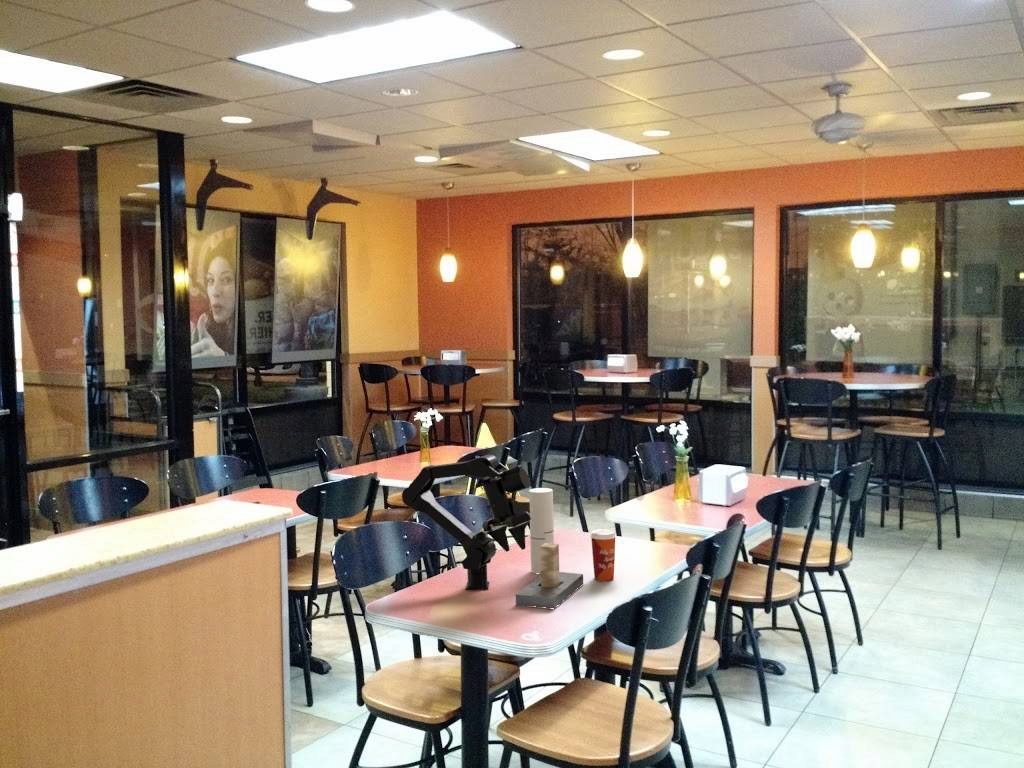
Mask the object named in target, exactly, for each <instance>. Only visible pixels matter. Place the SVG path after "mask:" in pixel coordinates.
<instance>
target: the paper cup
mask: <svg viewBox="0 0 1024 768" xmlns="http://www.w3.org/2000/svg"><path fill="white" fill-rule="evenodd" d="M589 537H590V538H591V548H592V549H591V552H592V560H593V562H592V564H593V565H592V566H593V574H594V580H595V579H596V580H595V581H597V580H599V581H598V582H610V581H609V580H611V581H614V579H615V561H616V560H615V557H616V556H615V555H616V538H617V534H616V532H615V530H612V529H605V528H603V529H602V528H601V529H599V528H598V529H594V530H592V531H591V534H590V536H589Z"/></svg>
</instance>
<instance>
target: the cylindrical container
mask: <svg viewBox="0 0 1024 768" xmlns="http://www.w3.org/2000/svg"><path fill="white" fill-rule="evenodd" d="M528 493H529V494H528V495H529V496H528V498H529V501H528V502H530V513H529V514H530V517H531V520H529V532H530V534H529V535H530V537H529V538H530V539H529V540H530V541H529V542H530V543H529V544H530V572H531V571H532V572H533V573H532V572H531V573H532V574H534V573H539V574H538V575H540V574H541V559H540V546H542V545H543V544H545V543H551V544H555V535H554V534H555V531H554V523H555V522H554V496H553V495H554V494H553V493H554V491H553V489H552V488H548V487H535V488H531V489H529V491H528Z"/></svg>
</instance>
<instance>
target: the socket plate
mask: <svg viewBox="0 0 1024 768" xmlns="http://www.w3.org/2000/svg"><path fill="white" fill-rule="evenodd" d="M559 581H560V586H559V587H557V588H552V587H542V586H541V575H540V576H538V577H537V578H536V579H534V580H533V581H532V582H530V583H529V584H527V585H526V586H525V587H524V588H522V589H521V590H520V591H517V593H515V606H517V605H522V606H521V607H526V606H536V607H546V608H555V607H556V606H557V605H559V604H560V603H561V602H562V601H563V600H564V599H566V598H567V597H568V596H569V595H570V594H571V595H573V594H574V593H575V592H576V591H577V590H578V589H580V588H581V587H582V586H583V585H584V574H583V573H577V572H576V573H574V572H564V571H559ZM582 584H583V585H582ZM581 585H582V586H581ZM580 586H581V587H580ZM579 587H580V588H579ZM577 588H578V589H577ZM576 589H577V590H576ZM575 590H576V591H575ZM574 591H575V592H574ZM573 592H574V593H573ZM572 593H573V594H572ZM571 595H570V596H571ZM570 596H569V597H570ZM569 597H568V598H569ZM568 598H567V599H568ZM567 599H566V600H567ZM563 602H564V601H563ZM563 602H562V603H563ZM562 603H561V604H562ZM561 604H560V605H561ZM523 605H524V606H523ZM560 605H559V606H560ZM556 608H557V607H556ZM556 608H555V609H556Z"/></svg>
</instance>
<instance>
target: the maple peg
mask: <svg viewBox="0 0 1024 768" xmlns="http://www.w3.org/2000/svg"><path fill="white" fill-rule="evenodd" d="M559 546H560V544H559V543H554V544H551V543H545V544H543V545H542V546H540V559H541V575H540V576H541V586H542V587H552V588H557V587H559V586H560V581H559V572H560V556H559V555H560V548H559Z"/></svg>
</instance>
